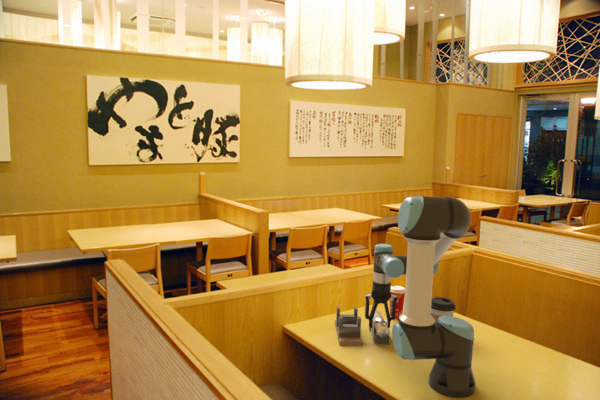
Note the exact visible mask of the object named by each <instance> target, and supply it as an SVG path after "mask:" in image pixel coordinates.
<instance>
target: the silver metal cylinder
mask: <svg viewBox="0 0 600 400" xmlns="http://www.w3.org/2000/svg"><path fill="white" fill-rule="evenodd" d="M373 319H374V328H375V330H376V332H375V334H377V335H378V336H379V337H380V338H382V339H384V338H387V337H388V336H389V337H390V333H391V331H390V328H388V327H387V325H386V323H385V319H384V316H383V315H382V313H381V311H379V310H376V311H375V314H374V317H373Z"/></svg>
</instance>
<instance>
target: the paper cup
mask: <svg viewBox="0 0 600 400" xmlns="http://www.w3.org/2000/svg"><path fill="white" fill-rule="evenodd" d="M391 295H396V297H397V298H398V299H397V301H396V310H395V318H396V319H395V320H399V316H400V315H401V314H402V313H404V304H405V287H403V286H401V285H391ZM391 307H392V300H391V298H390V299H389V314H390V316H391Z"/></svg>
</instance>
